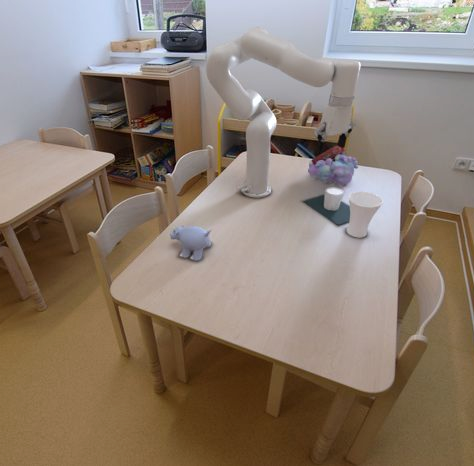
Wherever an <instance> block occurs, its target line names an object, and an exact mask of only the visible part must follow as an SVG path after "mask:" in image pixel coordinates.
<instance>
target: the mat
mask: <svg viewBox="0 0 474 466" xmlns="http://www.w3.org/2000/svg"><path fill="white" fill-rule="evenodd" d="M324 197H325V194H321V195H319V196H316V197H315V196H314V197H312V198H308V199H305V200H303V203H304V204H306V205H307V206H309V207H310V208H312V209H313V210H314V211H316V212H317V213H319V214H321V216H323V217H325V218H326V219H327V220H329V221H331V222H332V223H334V224H335V225H336V226H341V225H344V224H347V223H349V222H350V205H348V204H346V203H345V202H343V201H341V203H340V206H339V208H338V209H337V210H334V211H332V210H327V209H326V208H324Z"/></svg>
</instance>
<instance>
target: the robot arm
mask: <svg viewBox="0 0 474 466" xmlns="http://www.w3.org/2000/svg"><path fill="white" fill-rule="evenodd" d="M251 59H253V60H255V61H258V62H260V63H263V64H264V65H268V66H270V67H273V68H275V69H277V70H279V71H280V72H281V73H283V74H285V75H287V76H288V77H290V78H293V79H294V80H296V81H298V82H300V83H302V84H305V85H309V86H310V87H313V88H323V87H325V86H328V84H329V83H330V82H331V88H330V95H329V99H328V103H327V104H326V105H325V107H324V110H323V113H322V116H321V120H320V123H319V126H317V127H316V128H314V130H313V132H314V136H315V138H316V140H317V144H316V151H318V152H320V153H324V152H325V147H326V139H327V138H328V137H331V136H336V135H339V136H338V140H337V144H336V145H338V146H339V147H342V148H344V149H345V148H346V143H347V139H348V137H349V136H350V134H351V133H352V131H353V129H354V127H355V125H356V123H355V122H353V121H352V116H353V100H354V99H355V93H356V89H357V84H358V80H359V75H360V71H361V62H360V61H359V60H356V59H336V58H331V57H321V58H319V59H317V58H314V57H311V56H309V55H307V54H304V53H303V52H301V51H300V50H298V49H297V48H296V47H295V46H294V45H293V43H291V42H290V41H289V40H286V39H282V38H280V37H278V36H274V35H272V34H270V33H269V32H268V31H267V30H266V28H264V27H260V26H256V27H252V28H249V29H247V30H246V31H244V33H243V34H242V35H241V36H238V37H237V38H235V39H233V40H231V41H229V42H227V43H224V44H220V45H217V46H216V47H215V48H213V49H212V50H211V51H210V52H209V54H208V57H207V59H206V63H205V64H206V66H205V73H206V76H207V79H208V82H209V84H210V85H211V86H212V88H213V89H214V91H215V92H216V93H217V94H218V96H219V97H220V99H222V101H223V103H224V104H225V106H227V108H228V109H229V111H230V112H231V113H232V115H233V116H234V117H235V118H236V119H237V120H239V121H246V120H248V121H249V123H248V125H247V128H246V130H245V141H246V142H245V143H246V165H245V166H246V168H245V169H246V170H245V181H243V183H242V184H241V185H237V186H235V191H236V192H240V191H241V193H242V194H243V195H245V196H246V197H249V198H255V199H259V198H266V197H268V196H269V195H270V194H271V193H272V188H271V186H269V177H270V162H271V160H270V159H271V137H272V135H273V133H274V132H275V130H276V128H277V124H278V123H277V118H276V115H275V114H274V112H273V111H272V110H271V108H270V107H269V106H268V104H267V103H266V101H265V100H264V98H263V97H262V96H261V95H260V94H259V93H258V92H257V91H256V90H254V89H250V88H249V89H245V88H243V86H242V84H241V83H240V82H239V80H238V79H237V78H236V77H235V76H234V75H233V74H232V73H231V71H230V70H231V69H233V68H235V67H237V66H239V65H240V64H243V63H245V62H247V61H249V60H251Z"/></svg>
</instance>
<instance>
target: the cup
mask: <svg viewBox="0 0 474 466" xmlns="http://www.w3.org/2000/svg"><path fill="white" fill-rule="evenodd" d="M348 203H349V206H350V222H348V226H347V228H346V233H347V234H348V235H349V236H351V237H354V238H365V237H366V236H367V234H368V230H369V229H368V227H369V226H370V223H371V221H372V219H373V217H374V216H375V215H376V213H377V212H378V210H380V208H381V206H382V205H383V204H384V200H383V198H382V197H381V196H379V195H377V194H375V193H373V192H368V191H355V192H351V193H350V194H348Z"/></svg>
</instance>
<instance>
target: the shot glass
mask: <svg viewBox="0 0 474 466" xmlns="http://www.w3.org/2000/svg"><path fill="white" fill-rule="evenodd" d="M344 194H345V191H344V190H343V189H341V188H339V187H334V186H333V187H332V186H331V187H327V188H325V189H324V195H325V197H324V208H326V209H327V210H332V211H334V210H337V209H338V208H339V206H340V203H341V202H342V200H343V197H344Z"/></svg>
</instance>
